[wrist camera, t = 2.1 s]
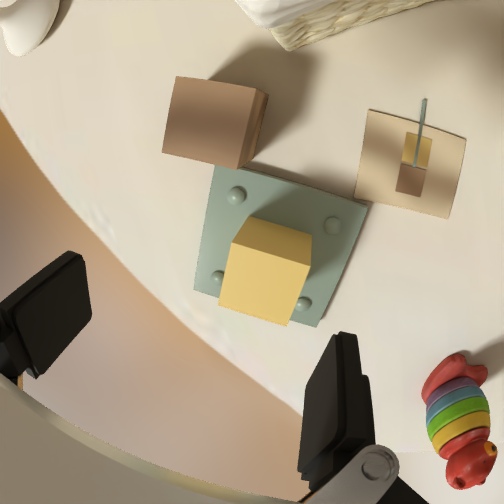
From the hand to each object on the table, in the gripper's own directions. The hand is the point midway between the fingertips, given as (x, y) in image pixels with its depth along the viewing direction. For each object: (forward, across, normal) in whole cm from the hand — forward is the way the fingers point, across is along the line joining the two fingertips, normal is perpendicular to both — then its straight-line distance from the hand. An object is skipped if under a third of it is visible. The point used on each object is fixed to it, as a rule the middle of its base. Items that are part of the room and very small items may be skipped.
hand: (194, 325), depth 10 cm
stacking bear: (+19, -32, +19) cm, 42 cm away
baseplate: (+19, -2, +6) cm, 20 cm away
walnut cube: (+19, +5, -6) cm, 20 cm away
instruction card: (+19, -12, -7) cm, 23 cm away
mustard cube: (+18, -2, +6) cm, 19 cm away
